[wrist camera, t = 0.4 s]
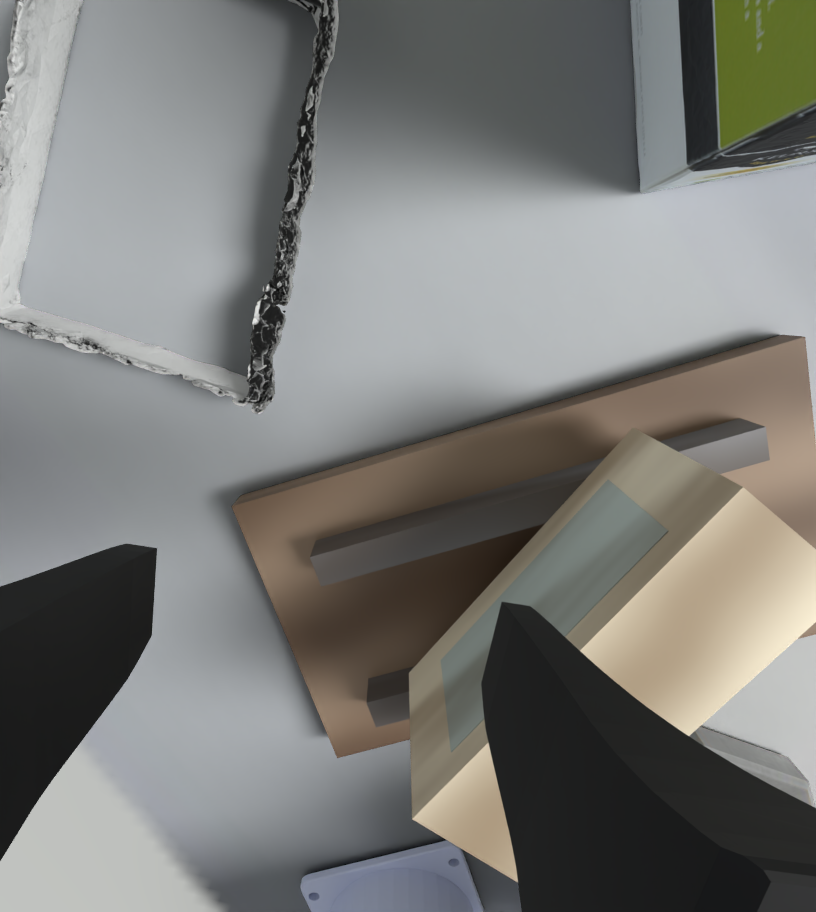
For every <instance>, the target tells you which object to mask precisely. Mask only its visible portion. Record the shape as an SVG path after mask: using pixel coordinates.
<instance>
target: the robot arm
mask: <svg viewBox="0 0 816 912" xmlns="http://www.w3.org/2000/svg"><path fill="white" fill-rule="evenodd" d="M156 555H157V548H151V547H145V546H138V545H132V544H124V545H119V546H116V547H112V548H109V549H106V550H103V551H100V552H97V553H95V554H92V555H89V556H86V557H83V558H81V559H78V560H75V561H72V562H70V563H67V564H64V565H61V566H59V567H56V568H53V569H50V570H48V571H45V572H42V573H39V574H37V575H34V576H31V577H28V578H25V579H22V580H19V581H16V582H13V583H10V584H7V585H4V586H1V587H0V860H1V859H2V857H3V856H4V854H5V852H6V851H7V849H8V848H9V846H10V844H11V843H12V841H13V839H14V838H15V836H16V835H17V833H18V831H19V830H20V828H21V827H22V824H23V823H24V822H25V820H26V818H27V817H28V815H29V814H30V812H31V810H32V809H33V807H34V805H35V804H36V803H37V801H38V800H39V798H40V797H41V795H42V794H43V792H44V791H45V789H46V788H47V787H48V785H49V784H50V782H51V781H52V780H53V778H54V777H55V776H56V774H57V773H58V772H59V770H60V769H61V768H62V766H63V765H64V764H65V762H66V761H67V760H68V758H69V757H70V756H71V754H72V753H73V752H74V750H75V749H76V748H77V746H78V745H79V744H80V742H81V741H82V740H83V738H84V737H85V736H86V734H87V733H88V732H89V730H90V729H91V728H92V726H93V725H94V724H95V722H96V721H97V720H98V718H99V717H100V716H101V714H102V713H103V712H104V710H105V709H106V708H107V706H108V705H109V704H110V702H111V701H112V700H113V698H114V697H115V695H116V694H117V693H118V691H119V690H120V689H121V687H122V686H123V684H124V683H125V682H126V680H127V679H128V677H129V676H130V674H131V672H132V670H133V669H134V667H135V665H136V663H137V662H138V660H139V658H140V656H141V654H142V653H143V651H144V649H145V647H146V645H147V643H148V641H149V640H150V638H151V636H152V621H153V605H154V588H155V572H156ZM481 688H482V700H483V711H484V720H485V729H486V734H487V738H488V743H489V747H490V752H491V756H492V761H493V765H494V769H495V774H496V778H497V782H498V787H499V791H500V795H501V799H502V804H503V808H504V812H505V816H506V821H507V825H508V829H509V834H510V838H511V843H512V848H513V853H514V859H515V864H516V871H517V878H518V885H519V893H520V900H521V908H522V912H816V808H815V807H813V806H811V805H809V804H807V803H805V802H803V801H801V800H799V799H797V798H795V797H793V796H791V795H789V794H787V793H786V792H784V791H782V790H780V789H778V788H776V787H774V786H772V785H770V784H768V783H766V782H765V781H763V780H761V779H759V778H757V777H756V776H754V775H752V774H750V773H748V772H747V771H745V770H743V769H741V768H740V767H738V766H736V765H735V764H733V763H731V762H730V761H728V760H726V759H725V758H723V757H721V756H720V755H718V754H716V753H715V752H713V751H711V750H710V749H708V748H707V747H705V746H703V745H702V744H700V743H699V742H697V741H695V740H694V739H692V738H691V737H689V736H688V735H686V734H685V733H683V732H682V731H680V730H679V729H677V728H676V727H675V726H673V725H672V724H670V723H669V722H667V721H666V720H665V719H663V718H662V717H660V716H659V715H658V714H656V713H655V712H653V711H652V710H650V709H649V708H648V707H646V706H645V705H644V704H643V703H641V702H640V701H639V700H637V699H636V698H635V697H633V696H632V695H631V694H630V693H629V692H627V691H626V690H625V689H624V688H622V687H621V686H620V685H619V684H618V683H616V682H615V681H614V680H613V679H611V678H610V677H609V676H608V675H607V674H605V673H604V672H603V671H602V670H601V669H600V668H599V667H597V666H596V665H595V664H594V663H593V662H592V661H591V660H590V659H588V658H587V657H586V656H585V655H584V654H583V653H582V652H581V651H580V650H578V649H577V648H576V647H575V646H574V645H573V644H572V643H571V642H570V641H569V640H568V639H567V638H566V637H564V636H563V635H562V634H561V633H560V632H559V631H558V630H557V629H556V628H555V627H554V626H553V625H552V624H551V623H549V622H548V621H547V620H546V619H545V618H544V617H543V616H542V615H541V614H539V613H538V612H537V611H536V610H535V609H533V608H532V607H531V606H527V605H521V604H514V603H508V602H501V606H500V610H499V614H498V618H497V622H496V626H495V630H494V634H493V638H492V642H491V646H490V650H489V654H488V658H487V662H486V666H485V670H484V674H483V678H482V682H481ZM300 889H301V892H302V894H303V896H304V898H305V900H306V902H307V904H308V906H309V908H310V910H311V912H485V911H484V909H483V906H482V903H481V900H480V898H479V895H478V892H477V889H476V887H475V884H474V881H473V878H472V876H471V873H470V870H469V867H468V865H467V862H466V859H465V856H464V854H463V851H462V849H461V848H459V847H458V846H456V845H454V844H453V843H451V842H449V841H448V840H446V841H442V842H438V843H434V844H429V845H425V846H421V847H417V848H413V849H409V850H405V851H401V852H397V853H393V854H389V855H385V856H380V857H376V858H372V859H368V860H364V861H360V862H356V863H352V864H348V865H344V866H340V867H335V868H331V869H327V870H323V871H319V872H315V873H311V874H308V875H305V876H304V877H303V878H302V881H301V886H300Z"/></svg>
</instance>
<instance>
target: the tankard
mask: <svg viewBox="0 0 816 912" xmlns="http://www.w3.org/2000/svg"><path fill="white" fill-rule="evenodd" d="M689 737H691V738H692V739H694V740H695V741H697V742H699V743H700V744H702V745H703V746H705V747H707V748H708V749H710V750H711V751H713V752H715V753H716V754H718V755H720V756H721V757H723V758H725V759H726V760H728V761H730V762H731V763H733V764H735V765H736V766H738V767H740V768H741V769H743V770H745V771H747V772H748V773H750V774H752V775H754V776H756V777H757V778H759V779H761V780H763V781H765V782H766V783H768V784H770V785H772V786H774V787H776V788H778V789H780V790H782V791H784V792H786V793H787V794H789V795H791V796H793V797H795V798H797V799H799V800H801V801H803V802H805V803H807V804H809V805H811V806H813V807H815V803H814V799H813V796H812V792H811V788H810V784H809V781H808V780H807V779H806V778H805V777H804V775H803V774H802V773H801V772H800V771H799V770H798V768H797V767H796V766H795V765H794V764H793V762H792V761H791V760H790V759H789V758H788V757H785V756H783V755H780V754H777V753H774V752H771V751H768V750H766V749H763V748H760V747H757V746H754V745H751V744H748V743H746V742H743V741H740V740H737V739H734V738H731V737H729V736H726V735H723V734H720V733H717V732H714V731H711V730H709V729H706V728H703V727H699V728H698V729H697V730H695V731H694V732H693V733H692V734H691V735H690V736H689ZM815 808H816V807H815Z"/></svg>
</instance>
